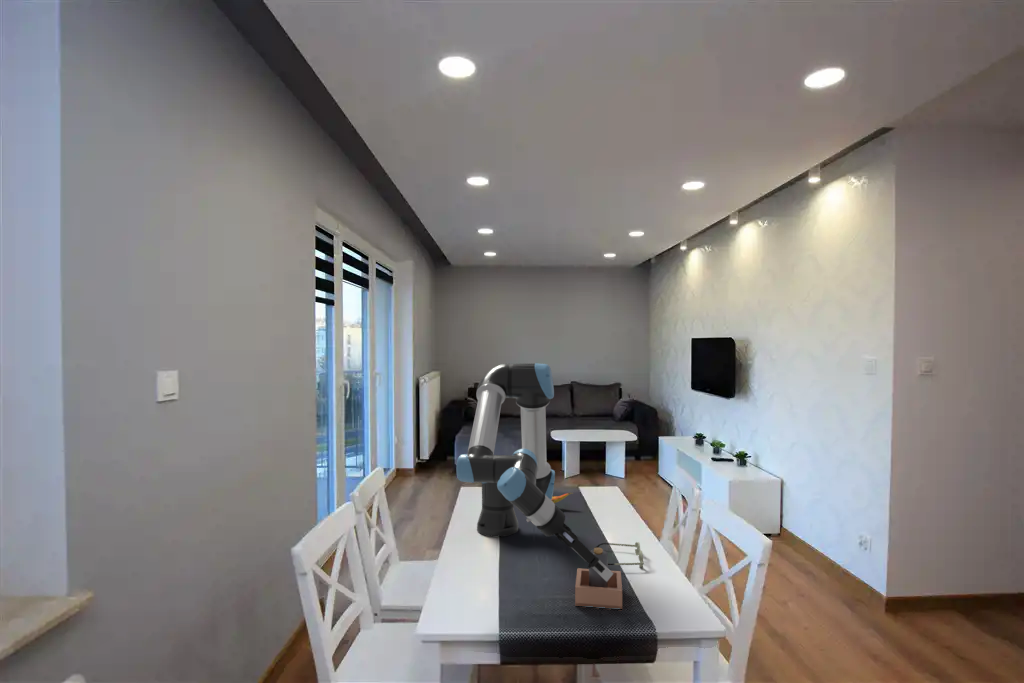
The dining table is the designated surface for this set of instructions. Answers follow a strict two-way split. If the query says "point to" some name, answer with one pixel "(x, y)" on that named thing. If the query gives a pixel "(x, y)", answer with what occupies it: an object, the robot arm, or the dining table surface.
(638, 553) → the sunglasses
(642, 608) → the dining table surface
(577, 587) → the terracotta rectangular open box
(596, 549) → the battery cell
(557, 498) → the magic lamp
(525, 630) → the dining table surface
